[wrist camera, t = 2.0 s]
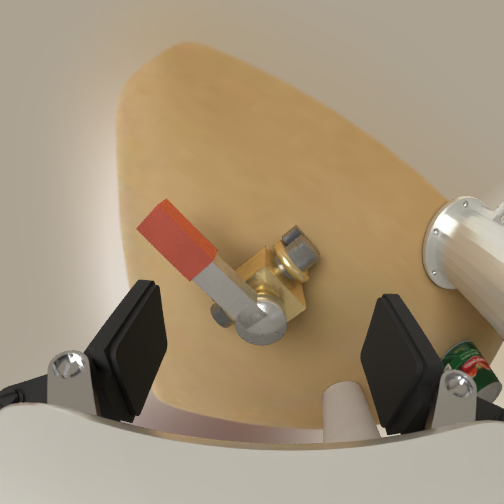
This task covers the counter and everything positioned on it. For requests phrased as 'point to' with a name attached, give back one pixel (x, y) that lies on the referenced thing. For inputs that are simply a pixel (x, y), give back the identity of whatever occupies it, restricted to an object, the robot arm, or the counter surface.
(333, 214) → the counter surface
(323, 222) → the counter surface
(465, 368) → the canned tomato
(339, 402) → the coffee cup
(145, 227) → the lever
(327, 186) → the counter surface
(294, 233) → the valve body
